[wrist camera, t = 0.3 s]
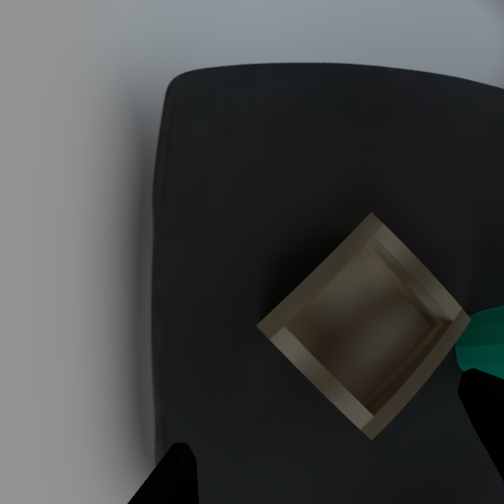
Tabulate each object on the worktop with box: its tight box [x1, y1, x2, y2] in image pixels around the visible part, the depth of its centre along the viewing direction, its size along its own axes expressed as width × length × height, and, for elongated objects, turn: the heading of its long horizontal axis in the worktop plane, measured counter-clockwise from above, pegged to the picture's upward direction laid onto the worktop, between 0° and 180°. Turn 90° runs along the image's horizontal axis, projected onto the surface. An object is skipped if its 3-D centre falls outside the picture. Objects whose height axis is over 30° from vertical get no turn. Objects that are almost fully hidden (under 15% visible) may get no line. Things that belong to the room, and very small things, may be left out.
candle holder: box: [256, 212, 471, 440], centre depth 21 cm, size 11×11×4 cm
